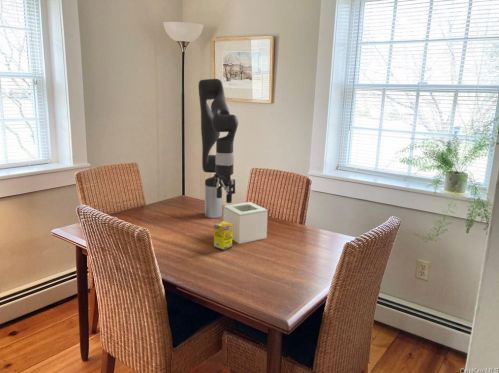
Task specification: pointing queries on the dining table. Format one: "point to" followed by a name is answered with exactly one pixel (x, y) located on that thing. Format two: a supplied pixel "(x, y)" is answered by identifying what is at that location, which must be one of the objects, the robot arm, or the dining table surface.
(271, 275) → the dining table surface
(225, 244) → the supplement box
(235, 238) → the storage box
